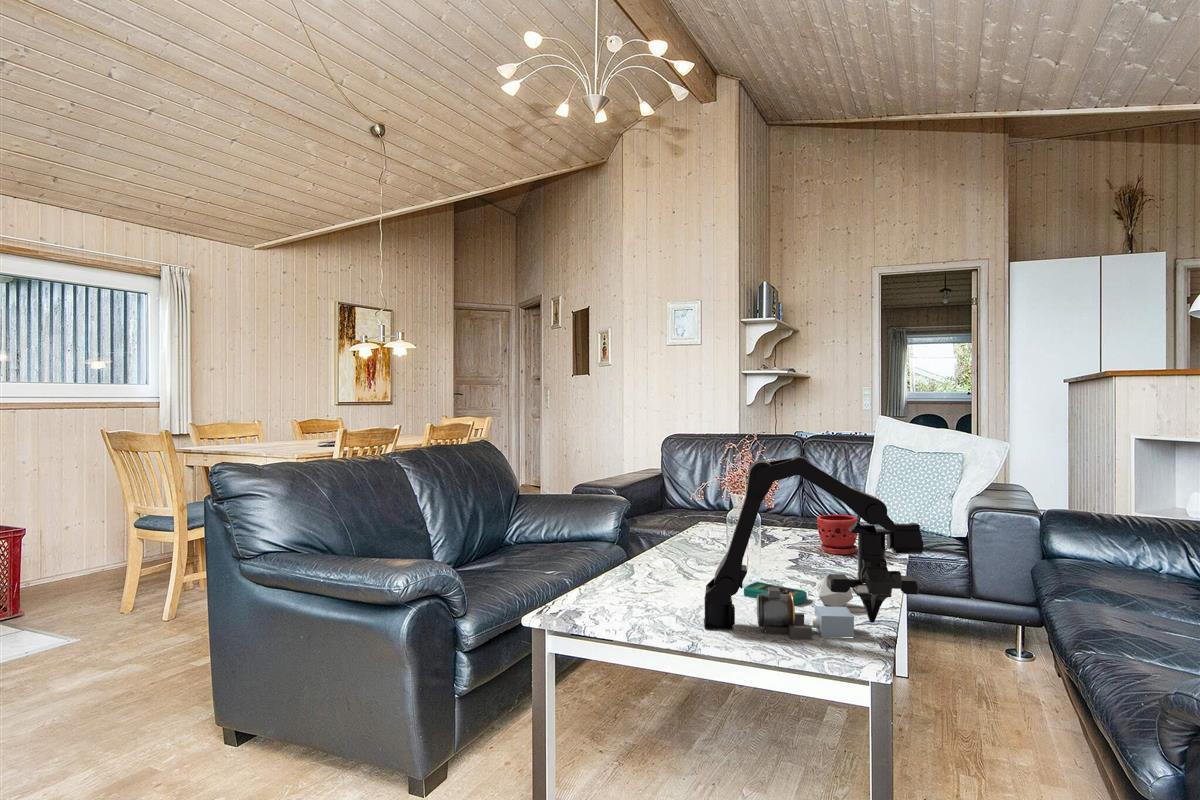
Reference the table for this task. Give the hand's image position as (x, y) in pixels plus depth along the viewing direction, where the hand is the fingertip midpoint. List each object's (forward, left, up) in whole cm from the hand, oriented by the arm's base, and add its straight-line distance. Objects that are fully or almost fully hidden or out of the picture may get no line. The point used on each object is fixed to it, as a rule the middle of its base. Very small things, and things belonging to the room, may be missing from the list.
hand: (871, 622), depth 157 cm
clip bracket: (-16, 0, -3) cm, 16 cm away
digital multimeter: (-18, +26, -3) cm, 32 cm away
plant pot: (+10, +83, -3) cm, 84 cm away
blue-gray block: (-8, 0, -3) cm, 9 cm away
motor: (-22, 0, -3) cm, 22 cm away
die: (-4, +20, -3) cm, 21 cm away
